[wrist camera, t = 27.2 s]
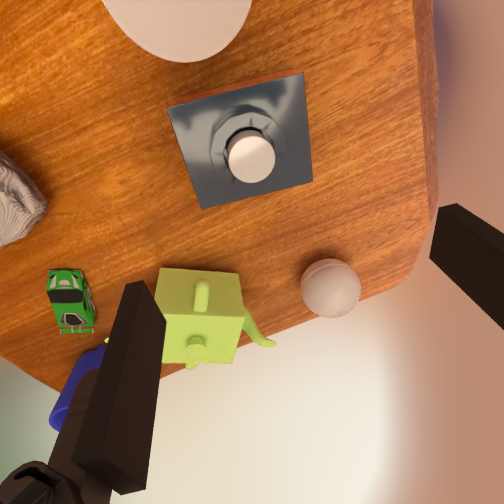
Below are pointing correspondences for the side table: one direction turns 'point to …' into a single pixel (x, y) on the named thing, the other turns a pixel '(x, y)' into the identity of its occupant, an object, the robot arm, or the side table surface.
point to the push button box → (240, 119)
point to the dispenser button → (250, 156)
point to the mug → (82, 365)
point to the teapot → (203, 316)
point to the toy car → (71, 300)
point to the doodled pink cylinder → (180, 25)
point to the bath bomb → (330, 288)
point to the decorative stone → (18, 202)
